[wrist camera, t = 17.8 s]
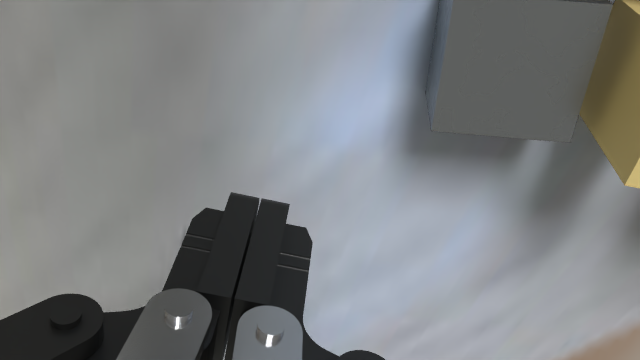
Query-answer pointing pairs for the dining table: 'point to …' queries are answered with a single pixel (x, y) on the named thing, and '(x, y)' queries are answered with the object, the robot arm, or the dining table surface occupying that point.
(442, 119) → the grey squat square block
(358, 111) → the dining table surface
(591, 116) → the tan rectangular block
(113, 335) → the robot arm
